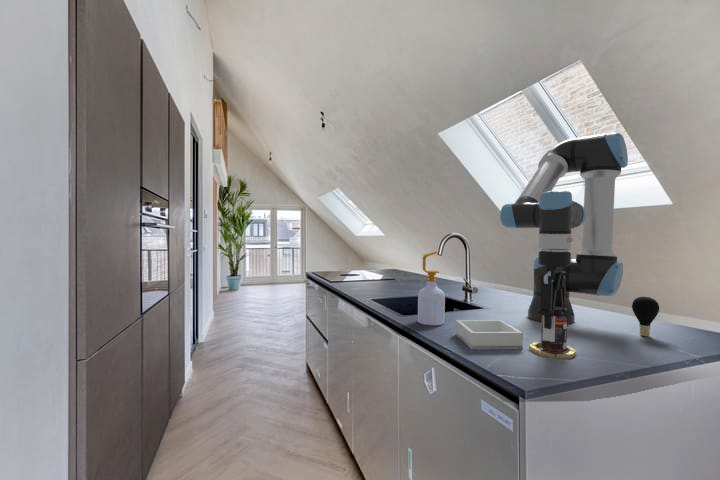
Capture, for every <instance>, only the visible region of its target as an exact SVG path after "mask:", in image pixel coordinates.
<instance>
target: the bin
mask: <svg viewBox="0 0 720 480" xmlns="http://www.w3.org/2000/svg"><path fill="white" fill-rule="evenodd" d="M455 336H456V337H457V338H458V339H459V340H461V342H463V344H465V345H466V346H467V347H468V348H469V349H470V350H472V351H475V350H476V351H477V350H480V351H481V350H483V351H484V350H493V351H494V350H524V349H523V347H524V345H523V344H524V333H523V332H522V331H521V330H519V329H518V328H515V327H514V326H512V325H510V324H509V323H507V322H505V321H503V320H501V319H462V320H461V319H456V320H455Z"/></svg>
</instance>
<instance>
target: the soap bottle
mask: <svg viewBox="0 0 720 480" xmlns="http://www.w3.org/2000/svg"><path fill="white" fill-rule="evenodd" d="M436 254H438V251H436V250H435V251H432V252H428V253H425V254H424V255H423V256H422V271H423V272H425V273H426V274H427V276H428V278H426V286H424V287H423V288H421V289H420V290H419V291H418V294H417V322H418V323H419V324H421V325H424V326H432V327H433V326H434V327H435V326H436V327H437V326H442V325H444V324H445V320H446V319H445V313H446V312H445V309H446V306H445V304H446V294H445V292H444V290H442V289H441V288H440V287H438V286H437V279H435V276H436V275H437V274H439V273H440V271H438V270H426V265H427V264H426V260H427V257H429V256H433V255H436Z"/></svg>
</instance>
